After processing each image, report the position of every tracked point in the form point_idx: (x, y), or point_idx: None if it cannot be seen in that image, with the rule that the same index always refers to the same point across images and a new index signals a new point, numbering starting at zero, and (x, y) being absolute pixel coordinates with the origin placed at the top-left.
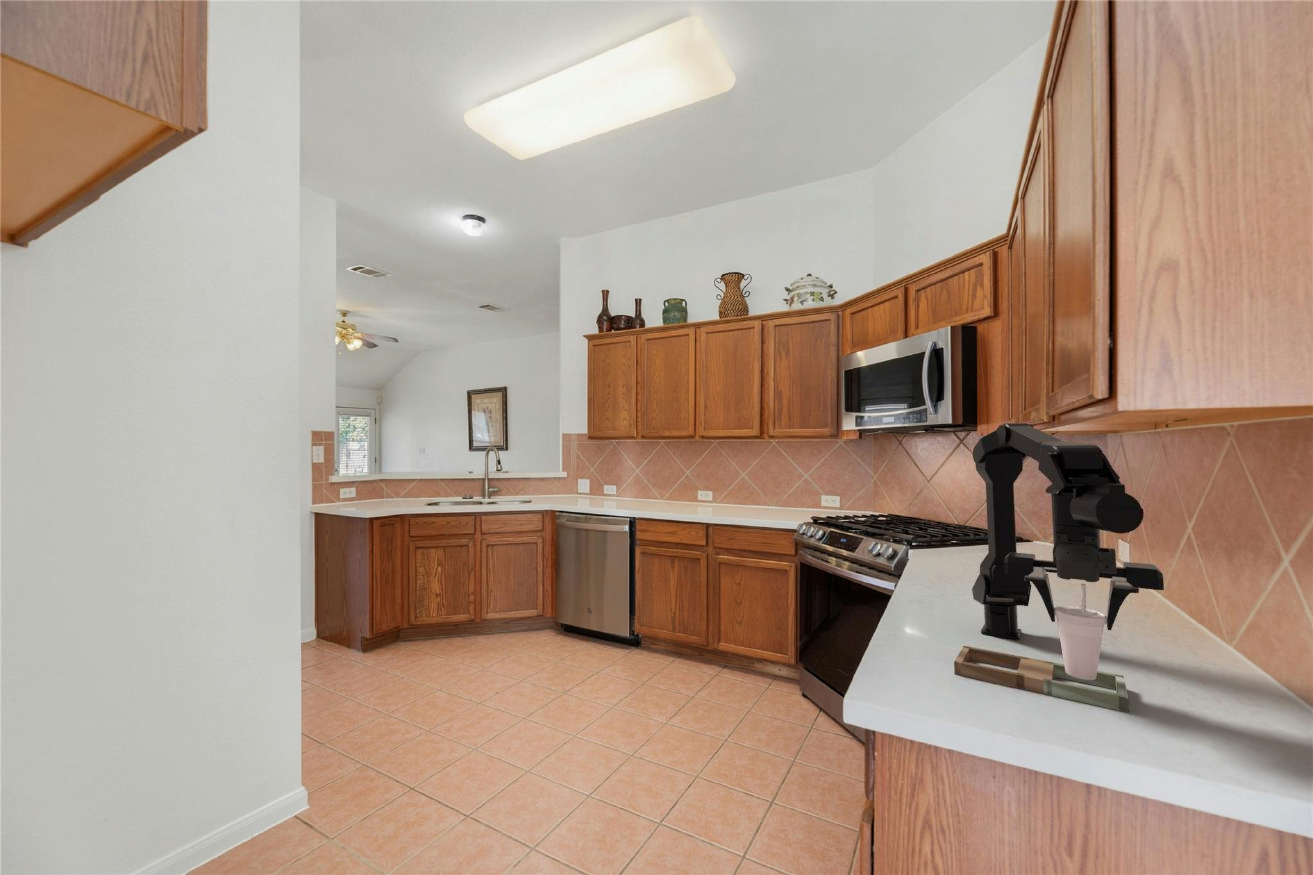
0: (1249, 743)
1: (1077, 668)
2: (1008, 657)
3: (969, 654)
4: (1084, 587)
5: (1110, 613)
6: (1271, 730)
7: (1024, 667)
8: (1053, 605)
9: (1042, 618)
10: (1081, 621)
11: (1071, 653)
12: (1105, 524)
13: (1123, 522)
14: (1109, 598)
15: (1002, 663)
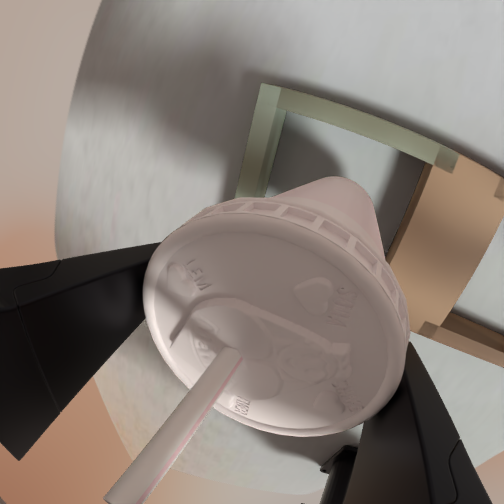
0: (124, 42)
1: (353, 186)
2: (462, 333)
3: None
4: (122, 482)
5: (105, 266)
6: (86, 122)
7: (468, 255)
8: (373, 431)
9: (264, 489)
10: (298, 218)
11: (365, 207)
12: None
13: None
14: (52, 357)
15: (470, 324)
